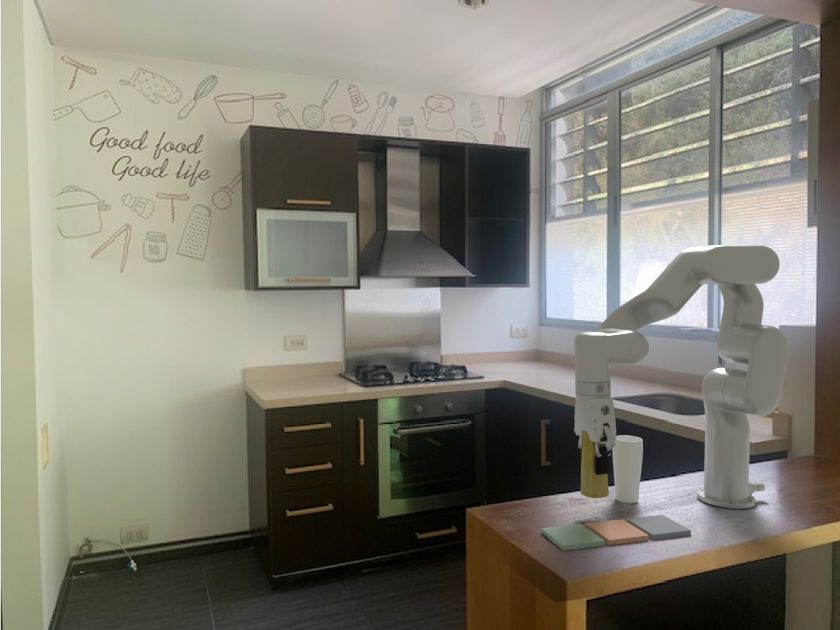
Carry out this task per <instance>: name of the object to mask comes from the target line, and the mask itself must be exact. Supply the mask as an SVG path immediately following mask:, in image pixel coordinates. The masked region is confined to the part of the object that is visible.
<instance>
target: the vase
mask: <svg viewBox="0 0 840 630" xmlns="http://www.w3.org/2000/svg"><path fill="white" fill-rule="evenodd" d="M581 436H582V458H581V466H580V469H581V470H580V490H579V491H580V493H579V494H581V495H582V496H583V497H587V498H590V499H602V498H603V499H604V498H606V497H608V496H609V495H610V491H609V480H608V479H609V476H608V474H602V475H596V474H595V456H597V455H596V450H595V444H594V442H592V441H590V440H589V437H588V433H587V432H585V431H583V430H581ZM600 440H601V441H604V440H603V439H600ZM601 441H600V442H601ZM603 446H604V444H601V445H600V449H601V448H602V447H603Z"/></svg>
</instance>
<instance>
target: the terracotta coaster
mask: <svg viewBox="0 0 840 630" xmlns="http://www.w3.org/2000/svg"><path fill="white" fill-rule="evenodd" d="M584 526H585V527H586V528H587V529H589V530H590V531H592V532H593V533H595V534H596V535H597V536H599V537H600V538H602V539H603V540H605V544H607V546H608V545H609V546H612V545H620V544H621V545H622V544H629V543H638V542H645V541H649V540H650V538H649V535H647V534H646V533H644V532H643V531H641V530H639V529H638V528H636V527H634V526H633V525H631V524H629V523H628V522H627V520H625V519H624V518H621V519H613V520H612V519H611V520H604V521H597V522H596V521H595V522H594V521H593V522H585V523H584Z"/></svg>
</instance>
